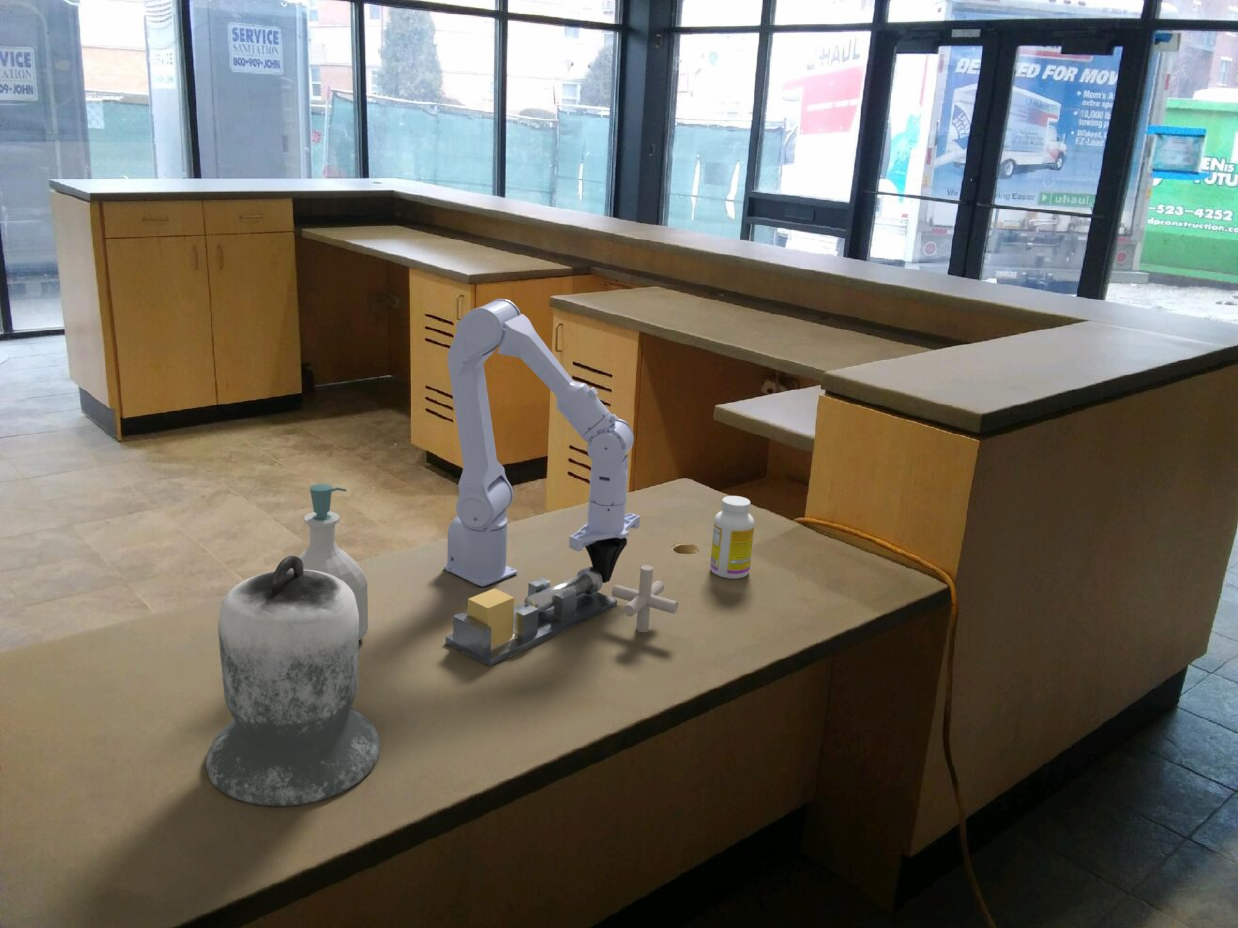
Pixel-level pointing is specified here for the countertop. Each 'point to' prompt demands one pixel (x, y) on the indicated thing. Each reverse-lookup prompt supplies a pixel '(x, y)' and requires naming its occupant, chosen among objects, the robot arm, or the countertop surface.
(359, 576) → the soap bottle
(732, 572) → the supplement bottle
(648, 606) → the white crossed rods piece
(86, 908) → the countertop surface
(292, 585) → the bell
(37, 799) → the countertop surface
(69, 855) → the countertop surface
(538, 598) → the shaft
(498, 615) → the block
